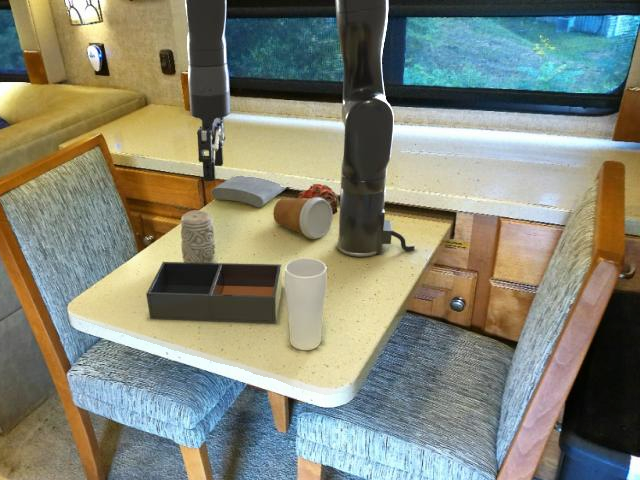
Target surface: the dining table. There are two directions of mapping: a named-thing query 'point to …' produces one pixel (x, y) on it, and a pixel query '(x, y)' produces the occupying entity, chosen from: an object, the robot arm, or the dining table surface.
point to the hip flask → (248, 190)
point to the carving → (197, 237)
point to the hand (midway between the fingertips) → (213, 172)
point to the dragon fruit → (321, 195)
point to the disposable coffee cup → (304, 215)
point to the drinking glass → (305, 301)
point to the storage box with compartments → (216, 292)
